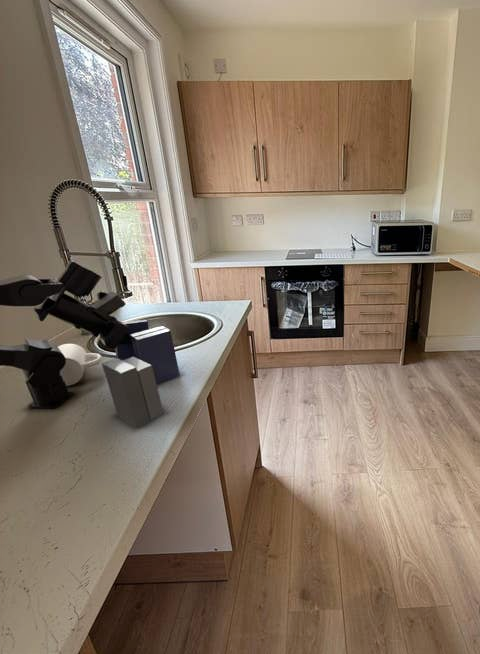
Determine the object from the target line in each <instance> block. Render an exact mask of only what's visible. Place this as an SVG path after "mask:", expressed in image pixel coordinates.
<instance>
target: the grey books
mask: <svg viewBox="0 0 480 654" xmlns="http://www.w3.org/2000/svg"><path fill="white" fill-rule="evenodd" d="M101 365H102V369H103V371H104V375H105V378H106V382H107V385H108V389H109V392H110V395H111V398H112V402H113V405H114V408H115V412H116V414H117V417H119V418H121V419H122V420H123V421H125V422H127V423H128V424H129V425H131V426H132V427H134V428H135V429H138V428H140V427H141V426H144V425H145V424H148V423H149V422H151V421H152V420H153V419H155V418H157V417H159V416H161V415H163V414H164V410H163V406H162V401H161V398H160V393H159V389H158V384H156V380H155V376H154V372H153V368H152V365H150V364H148V363H146V362H144V361H142V360H139V359H137V358H135V357H130V358H128V359H125V360H120V359H118V358H116V357H115V358H112V359H109V360H106V361H104V362H101Z"/></svg>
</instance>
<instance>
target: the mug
mask: <svg viewBox="0 0 480 654" xmlns="http://www.w3.org/2000/svg"><path fill="white" fill-rule="evenodd" d="M57 347H58V348H59V349H60V351H61V352H62V353H63V355H64V356H65V359H66V364H65V366H64V367H63V369H62V370H60V375H61V376H62V379H63V381H65V384H66V387H69V386H73V385H75V384H77V383H78V382H80V380H81V379H82V378H83V375H84V372H85V369H88V368H92V367H95V366H97V365H99V364H100V363H101V364H102V361H103V356H102V355H101V354H100V353H96V352H88V353H87V351H86V350H85V348H83V347H82V346H80V345H78V344H75V343H64V344H61V345H58V346H57ZM89 359H94V360H90V361H88V360H89Z"/></svg>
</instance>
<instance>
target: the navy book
mask: <svg viewBox="0 0 480 654" xmlns="http://www.w3.org/2000/svg"><path fill="white" fill-rule="evenodd" d="M121 322H122V323H124V324H125V325H127V326H128V327H129V328H128V331H127V333H129V334H130V335H131V334H134V333H138V332H142V331H145V330H149V329H150V328H149V321H148V320H147V319H138V320H130V321H121ZM114 350H115V358H118V359H120V360H125V359H128V358H130V357H135V358H136V356H135V352H134V348H133V345H126V344H118V345H117V347H116V348H115V349H114Z"/></svg>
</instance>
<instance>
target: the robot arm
mask: <svg viewBox="0 0 480 654" xmlns="http://www.w3.org/2000/svg"><path fill="white" fill-rule="evenodd" d="M102 278H103V276H101V275H99V274H98V273H97V272H94V271H93V270H91V269H89V268H87V267H85V266H82V265H81V264H79V263H77V262H75V261H73V260H69V262H68V263H67V264H66V267H65V269H63V271H62V273H61V274H60V275H59V276H58V278H55V277H54V278H51V277H50V278H37V277H35V276H33V275H29V274H28V275H27V274H21V275H17V276H16V275H15V276H13V277H8V278H4V279H1V280H0V306H4V307H5V306H6V307H33V308H32V310H33V311H34V312H35V314H36V318H37V319H38V320H39V321H40V322H44V321H45V320H46V318H47V317H48V315H49V316H51V317H53V318H56V319H58V320H60V321H63V322H65V323H67V324H69V325H71V326H73V327H74V328H75V329H77V330H79V331H80V330H82V331H84V332H87V333H88V334H90V335H92V336H93V337H95V338H98V337H99V339H100V343H101V344H103V345H104V347H106V348H108V349H111V350H115V348H116V347H117V345H118V344H126V345H133V344H132V340H131V336H130V334H129V333H127V331H128V328H129V327H128V326H127V325H125V324H124V323H122V322H123V321H120V320H118V319H117V317H115V316H114V315H112V314H114V313H115V312H117V311H118V310H119V309H121V308H124V307H125V306H126V301H124V299H122V297H121V296H120V295H119V294H118V293H117V292H115V291H108V292H106V291H103V290H100V291H98V292H97V293H96V297H97V300H95V303H93V304H91V303H90V302H84V301H81V300H79V299H81V298H85V297H89V296H90V295H91V293H92V292H93V290H94V289H95V288H96V286H97V285H98V283H99V282H100V281H101V279H102ZM65 292H67V293H69V294H71V295H73V296H75V297H77V298H79V299H77V298H75V297H73V296H71V295H69V294H67V293H65ZM65 364H66V359H65V356H64V355H63V353H62V352H61V351H60V349H59V348H58V346H57V345H55V344H54V343H52V342H49V341H48V340H47V339H43V340H37V339H32V338H26V337H25V338H24V343H23V344H17V345H8V344H7V345H6V344H5V345H4V344H0V366H1V367H13V368H16V369H20V370H22V372H23V375H24V377H25V379H26V380H25V384H26V386H27V389H28V391H29V394H30V396H31V399H32V402H31V403H30V404H28V405H27V407H28V409H55V408H57V407H58V406H59V405H61V404H62V403H63V402H65V401H66V400H68V399H69V398H71V397H72V396H74V394H75V392H74V391H69V390H68V386H66V384H65V381H63V379H62V376H61V375H60V370H62V369H63V367H64V366H65Z"/></svg>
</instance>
